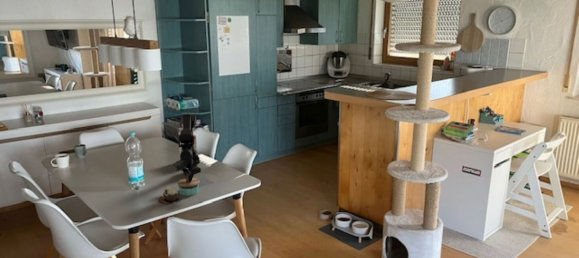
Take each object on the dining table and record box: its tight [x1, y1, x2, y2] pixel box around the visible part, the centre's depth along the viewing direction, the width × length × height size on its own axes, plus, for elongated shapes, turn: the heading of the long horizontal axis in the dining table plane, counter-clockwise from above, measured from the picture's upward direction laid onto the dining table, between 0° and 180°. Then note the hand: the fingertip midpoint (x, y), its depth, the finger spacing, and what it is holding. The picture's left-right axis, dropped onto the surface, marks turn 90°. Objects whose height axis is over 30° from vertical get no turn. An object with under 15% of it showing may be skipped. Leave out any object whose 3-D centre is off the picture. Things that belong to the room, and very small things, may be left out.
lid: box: [177, 174, 200, 187], centre depth 245 cm, size 12×12×5 cm
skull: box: [158, 185, 182, 205], centre depth 237 cm, size 12×10×10 cm
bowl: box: [178, 184, 200, 196], centre depth 246 cm, size 11×11×4 cm
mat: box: [197, 176, 215, 188], centre depth 260 cm, size 12×12×1 cm
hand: (188, 181), depth 245 cm, fingers closed on lid, 3 cm apart
